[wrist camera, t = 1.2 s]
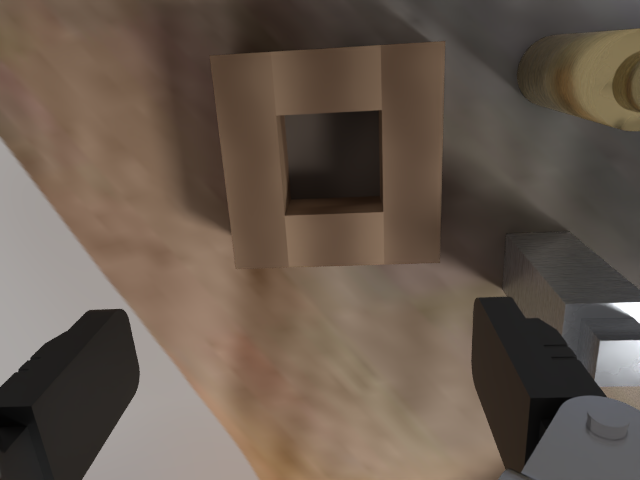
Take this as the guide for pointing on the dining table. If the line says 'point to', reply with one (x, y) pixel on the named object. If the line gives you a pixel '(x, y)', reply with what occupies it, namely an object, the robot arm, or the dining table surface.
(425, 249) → the socket block
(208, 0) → the dining table surface
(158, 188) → the dining table surface
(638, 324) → the square bit
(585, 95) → the round bit
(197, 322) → the dining table surface
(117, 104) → the dining table surface
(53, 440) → the robot arm
